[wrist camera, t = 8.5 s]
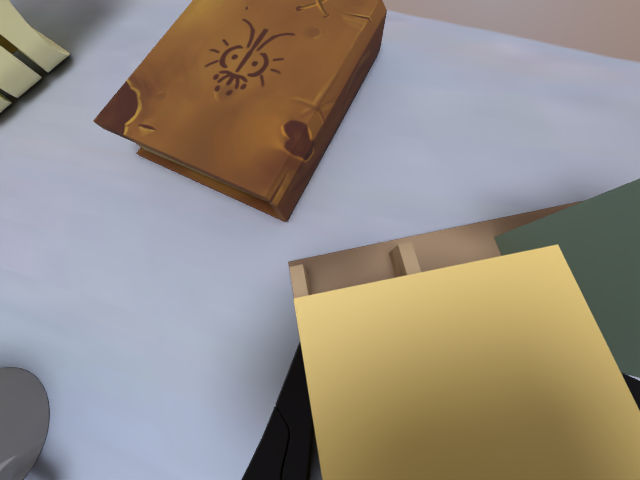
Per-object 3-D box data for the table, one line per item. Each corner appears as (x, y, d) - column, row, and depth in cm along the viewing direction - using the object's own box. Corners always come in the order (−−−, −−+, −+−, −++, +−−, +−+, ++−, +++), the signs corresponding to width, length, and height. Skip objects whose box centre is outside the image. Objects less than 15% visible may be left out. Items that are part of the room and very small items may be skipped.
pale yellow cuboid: (415, 357, 15) (715, 565, 3) (337, 373, 15) (347, 633, 3) (395, 286, 16) (557, 244, 4) (323, 301, 16) (293, 298, 4)
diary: (288, 225, 23) (273, 201, 18) (144, 159, 26) (92, 121, 21) (378, 57, 28) (389, -4, 22) (246, 18, 31) (226, -44, 25)
